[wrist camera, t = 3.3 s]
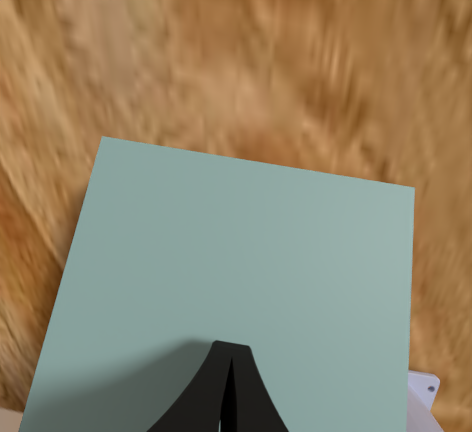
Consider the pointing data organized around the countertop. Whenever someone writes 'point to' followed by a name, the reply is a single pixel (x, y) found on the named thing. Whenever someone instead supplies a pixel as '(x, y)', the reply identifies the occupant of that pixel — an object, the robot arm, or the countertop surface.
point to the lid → (228, 292)
